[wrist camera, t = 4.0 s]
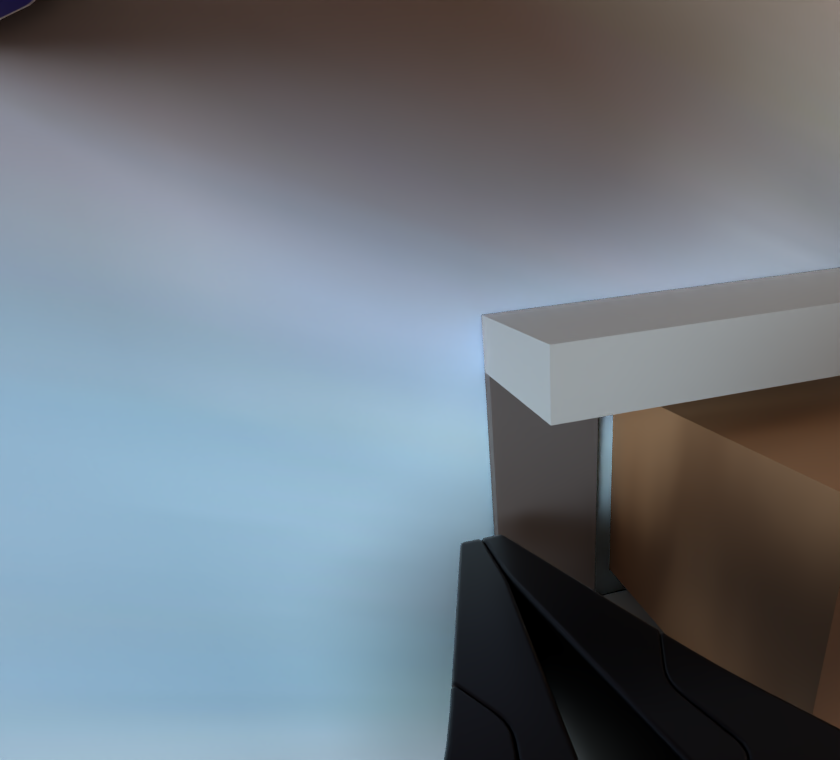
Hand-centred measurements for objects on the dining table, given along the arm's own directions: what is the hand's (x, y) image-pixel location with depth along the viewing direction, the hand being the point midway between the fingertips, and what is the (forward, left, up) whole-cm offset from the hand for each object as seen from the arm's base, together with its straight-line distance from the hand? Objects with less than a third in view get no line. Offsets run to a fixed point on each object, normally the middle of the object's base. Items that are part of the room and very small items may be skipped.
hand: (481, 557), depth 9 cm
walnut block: (0, -6, -2) cm, 6 cm away
